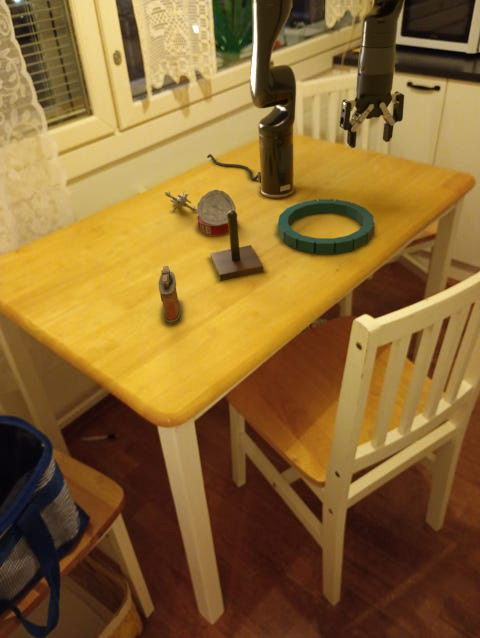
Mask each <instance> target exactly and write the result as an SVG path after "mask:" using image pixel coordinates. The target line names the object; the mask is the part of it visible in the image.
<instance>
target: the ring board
mask: <svg viewBox="0 0 480 638" xmlns="http://www.w3.org/2000/svg"><path fill="white" fill-rule="evenodd" d="M227 218H228V226H229V233H228V235H229V246H230V248H228V249H224V250H218V251H214V252H209V256H210V260H211V263H212V264H213V265H212V266H213V267H214V269H215V272H216V274H217V276H218V279H219V281H220V282H221V281H225V280H230V279H235V278H240V277H246V276H250V275H256V274H259V273H264V265H263V263H262V262H261V259H260V258H259V256H258V254H257V253H256V252H255V250H254V248H253V246H252V244H249V245H243V246H240V238H239V226H238V213H237V212H236V210H235V211H229V212H228V214H227Z"/></svg>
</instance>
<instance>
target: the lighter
mask: <svg viewBox="0 0 480 638" xmlns="http://www.w3.org/2000/svg"><path fill="white" fill-rule="evenodd" d="M158 279H159V280H158V291H159V294H160V299H161V302H162V306H163V315H164V320H165V323H166V324H167V325H176V324H178V323H179V321H180V319H181V314H182V309H181V303H180V300H179V297H178V290H177V280H176V276H175V273H174V272H173V271H171V270H170V266H169V265H163V266H162V270H160V277H159V278H158Z"/></svg>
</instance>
